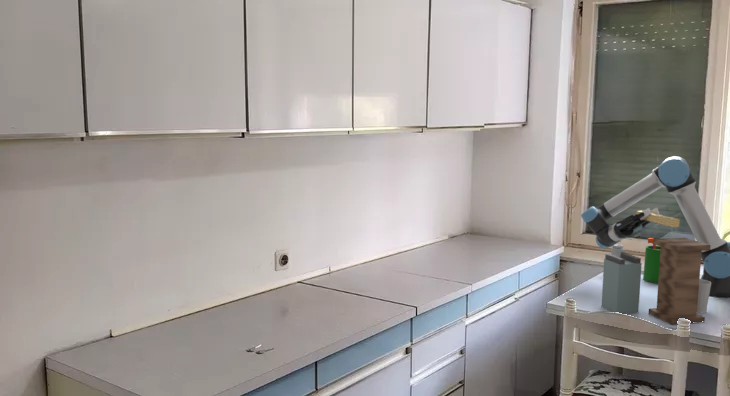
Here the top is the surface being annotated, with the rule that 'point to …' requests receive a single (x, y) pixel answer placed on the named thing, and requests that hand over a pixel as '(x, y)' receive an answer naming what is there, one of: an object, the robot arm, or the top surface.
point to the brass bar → (662, 219)
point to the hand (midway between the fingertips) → (653, 210)
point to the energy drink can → (617, 250)
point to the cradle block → (621, 283)
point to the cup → (703, 295)
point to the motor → (652, 262)
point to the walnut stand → (678, 279)
